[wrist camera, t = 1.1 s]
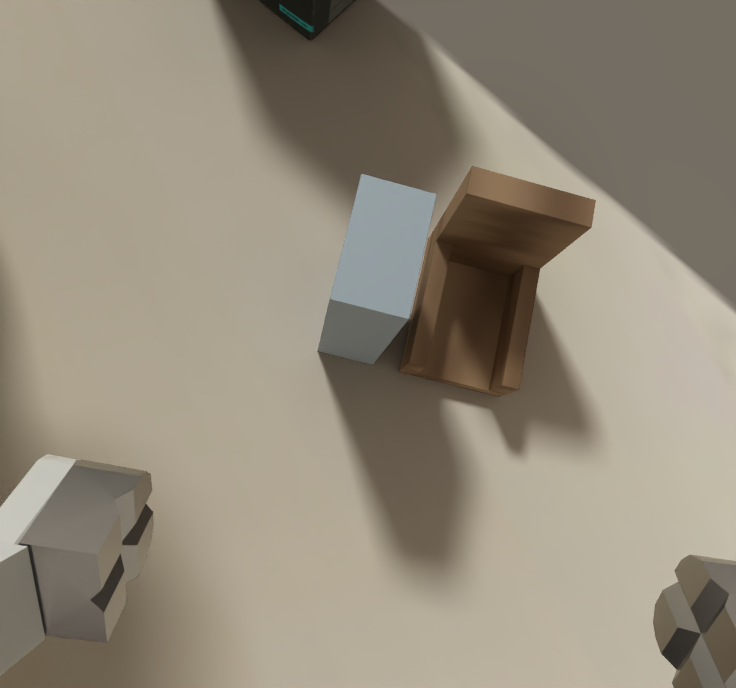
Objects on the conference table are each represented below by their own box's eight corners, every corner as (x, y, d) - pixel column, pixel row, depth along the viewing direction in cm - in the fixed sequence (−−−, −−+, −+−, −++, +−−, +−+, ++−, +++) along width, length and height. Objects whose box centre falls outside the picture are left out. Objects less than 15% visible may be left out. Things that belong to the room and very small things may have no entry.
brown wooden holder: (399, 371, 38) (436, 338, 29) (428, 239, 40) (472, 166, 31) (498, 396, 39) (568, 372, 29) (522, 264, 41) (595, 200, 31)
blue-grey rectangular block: (317, 351, 38) (329, 298, 26) (340, 261, 39) (361, 173, 28) (372, 364, 38) (408, 319, 27) (393, 275, 40) (436, 194, 28)
